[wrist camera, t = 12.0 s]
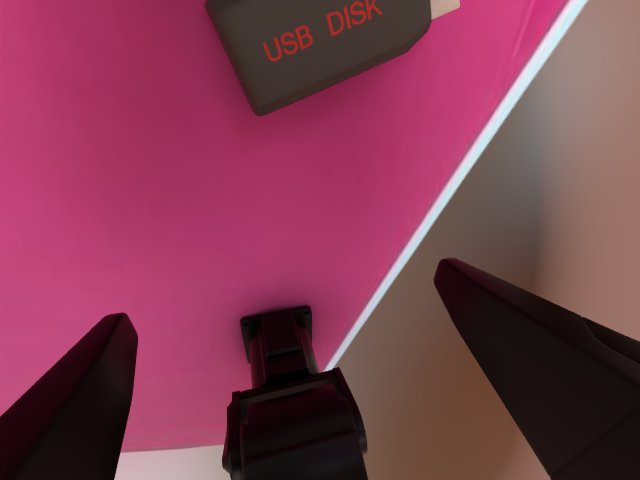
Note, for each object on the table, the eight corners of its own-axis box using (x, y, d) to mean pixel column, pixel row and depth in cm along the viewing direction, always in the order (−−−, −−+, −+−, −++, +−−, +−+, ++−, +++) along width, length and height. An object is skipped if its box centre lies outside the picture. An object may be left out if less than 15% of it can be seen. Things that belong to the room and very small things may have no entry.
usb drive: (204, 5, 14) (201, 0, 12) (431, -95, 15) (467, -117, 12) (253, 111, 18) (257, 122, 15) (439, 29, 18) (469, 29, 16)
